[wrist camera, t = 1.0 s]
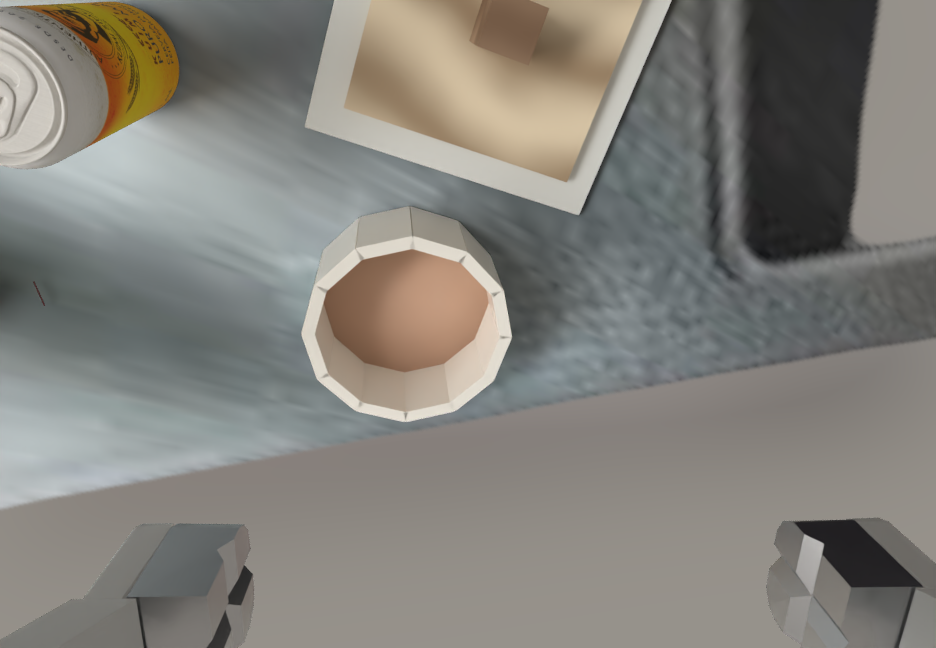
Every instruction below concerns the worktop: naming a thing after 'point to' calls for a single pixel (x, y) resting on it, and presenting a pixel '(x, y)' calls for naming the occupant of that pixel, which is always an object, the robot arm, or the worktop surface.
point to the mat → (456, 160)
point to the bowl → (406, 316)
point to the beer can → (77, 77)
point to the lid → (492, 73)
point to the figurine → (39, 293)
